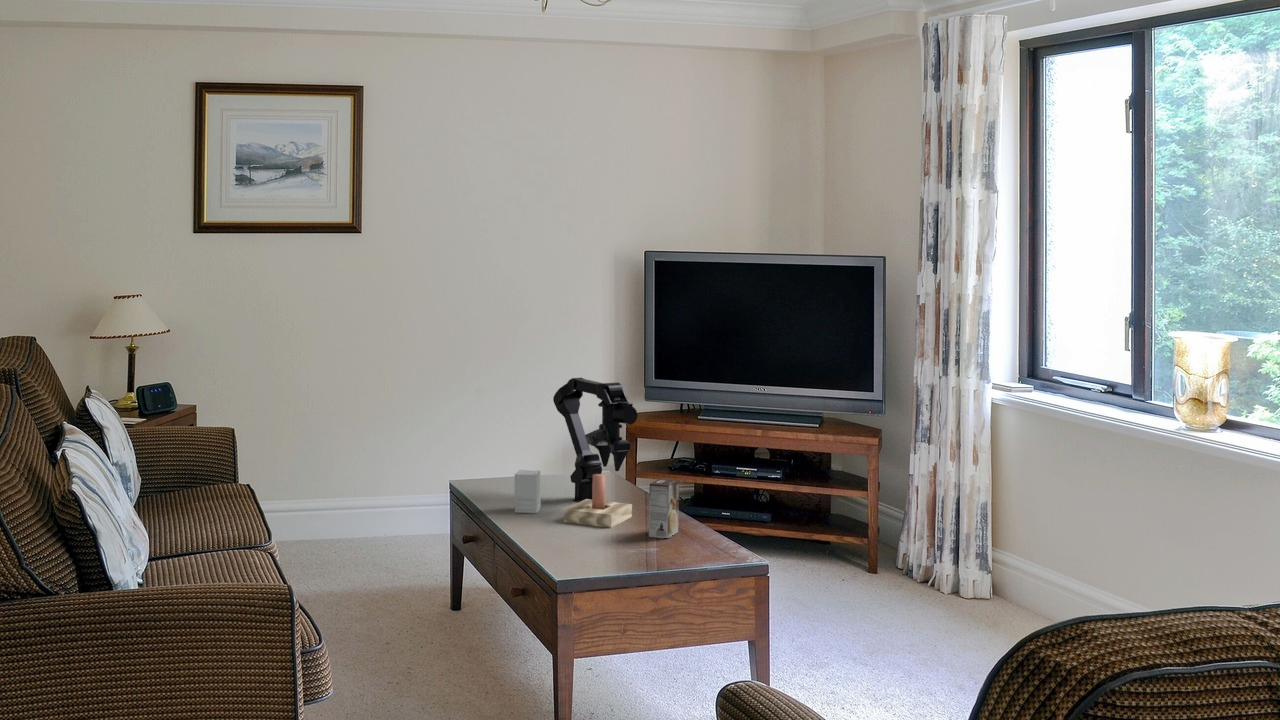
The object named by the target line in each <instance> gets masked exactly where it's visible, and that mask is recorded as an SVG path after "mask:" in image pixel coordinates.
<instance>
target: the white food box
mask: <svg viewBox="0 0 1280 720" xmlns="http://www.w3.org/2000/svg"><path fill="white" fill-rule="evenodd" d="M648 495H649V498H648V500H649V501H648V504H649V505H648V506H649V507H648V511H649V512H648V537H649V538H655V539H656V538H657V539H663V538H669V537H670V538H672V537H673V536H674V535H676V534H677V533H678V532H679V515H680V513H679V511H680V510H679V507H680V501H679V500H680V479H669V478H657V480H655V481H653V482H651V483H649V494H648ZM672 535H673V536H672ZM670 538H669V539H670Z"/></svg>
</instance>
